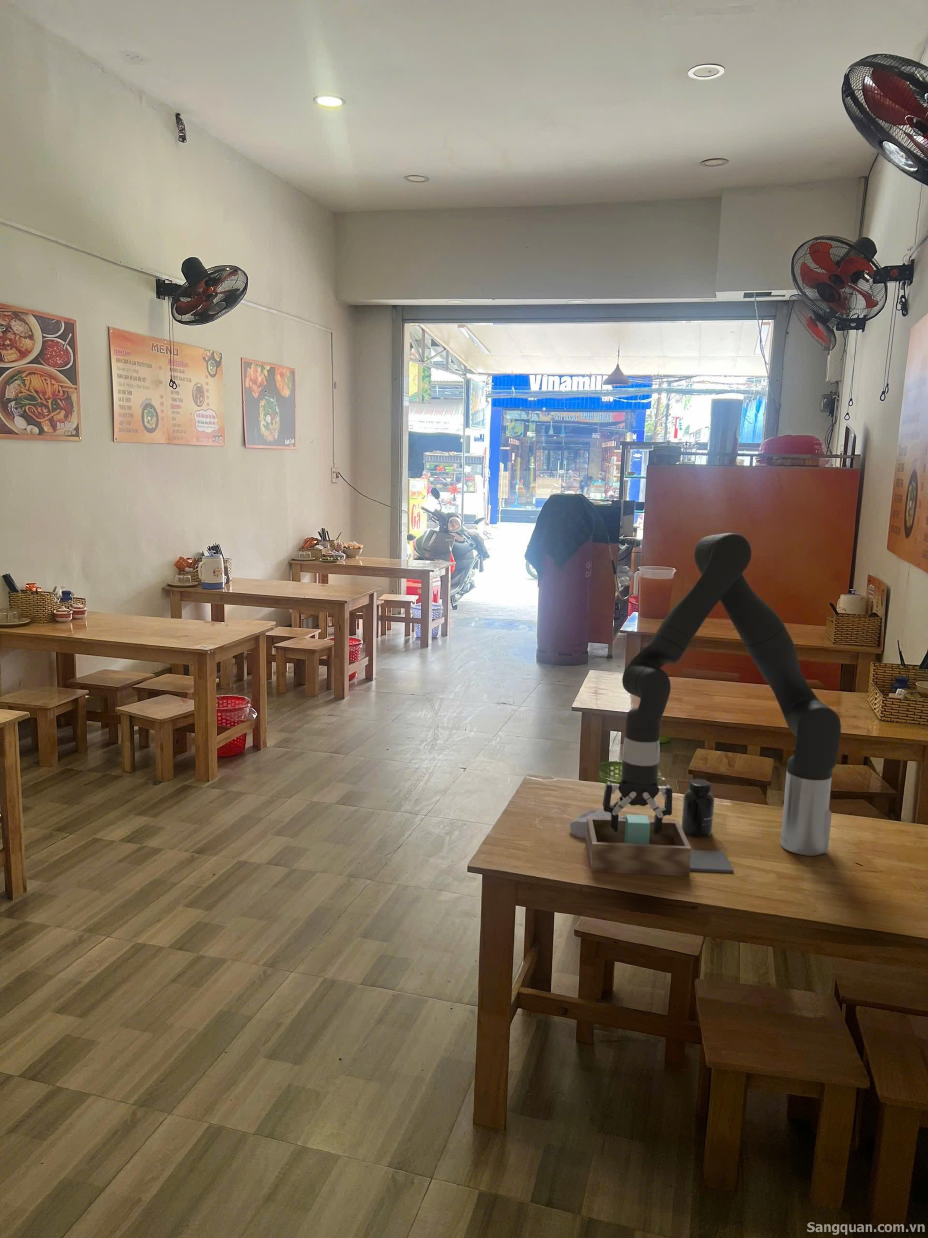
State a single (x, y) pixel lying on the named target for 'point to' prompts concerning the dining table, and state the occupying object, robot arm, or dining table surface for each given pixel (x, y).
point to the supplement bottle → (698, 809)
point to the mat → (710, 861)
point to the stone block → (580, 824)
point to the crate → (637, 849)
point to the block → (637, 829)
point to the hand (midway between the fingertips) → (635, 831)
